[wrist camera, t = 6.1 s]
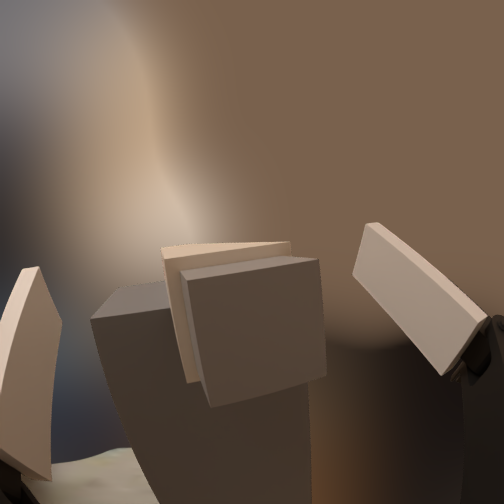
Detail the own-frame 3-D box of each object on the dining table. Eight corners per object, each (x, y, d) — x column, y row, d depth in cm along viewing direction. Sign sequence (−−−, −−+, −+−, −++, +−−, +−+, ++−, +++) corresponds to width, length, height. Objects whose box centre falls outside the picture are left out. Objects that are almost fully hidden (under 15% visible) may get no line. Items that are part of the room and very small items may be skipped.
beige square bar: (197, 423, 5) (165, 264, 5) (164, 275, 31) (160, 247, 31) (339, 382, 6) (330, 240, 5) (191, 271, 32) (187, 244, 32)
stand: (202, 583, 14) (68, 325, 12) (182, 508, 28) (110, 287, 26) (322, 550, 19) (322, 283, 17) (277, 485, 32) (249, 266, 30)
